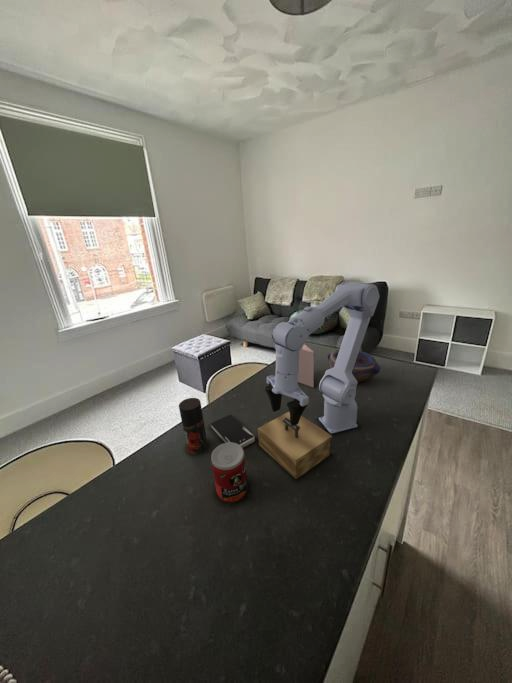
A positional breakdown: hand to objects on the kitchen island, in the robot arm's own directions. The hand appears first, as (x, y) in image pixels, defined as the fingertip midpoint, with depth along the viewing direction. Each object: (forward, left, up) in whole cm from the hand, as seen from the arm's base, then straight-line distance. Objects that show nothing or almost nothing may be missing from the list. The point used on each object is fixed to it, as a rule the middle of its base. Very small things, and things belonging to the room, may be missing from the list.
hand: (285, 417), depth 74 cm
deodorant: (+24, -11, -12) cm, 29 cm away
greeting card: (-20, -34, -12) cm, 41 cm away
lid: (-3, 0, -7) cm, 7 cm away
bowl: (-40, -29, -12) cm, 51 cm away
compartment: (-2, 0, -12) cm, 12 cm away
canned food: (+17, +7, -12) cm, 22 cm away
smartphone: (+13, -13, -12) cm, 22 cm away
